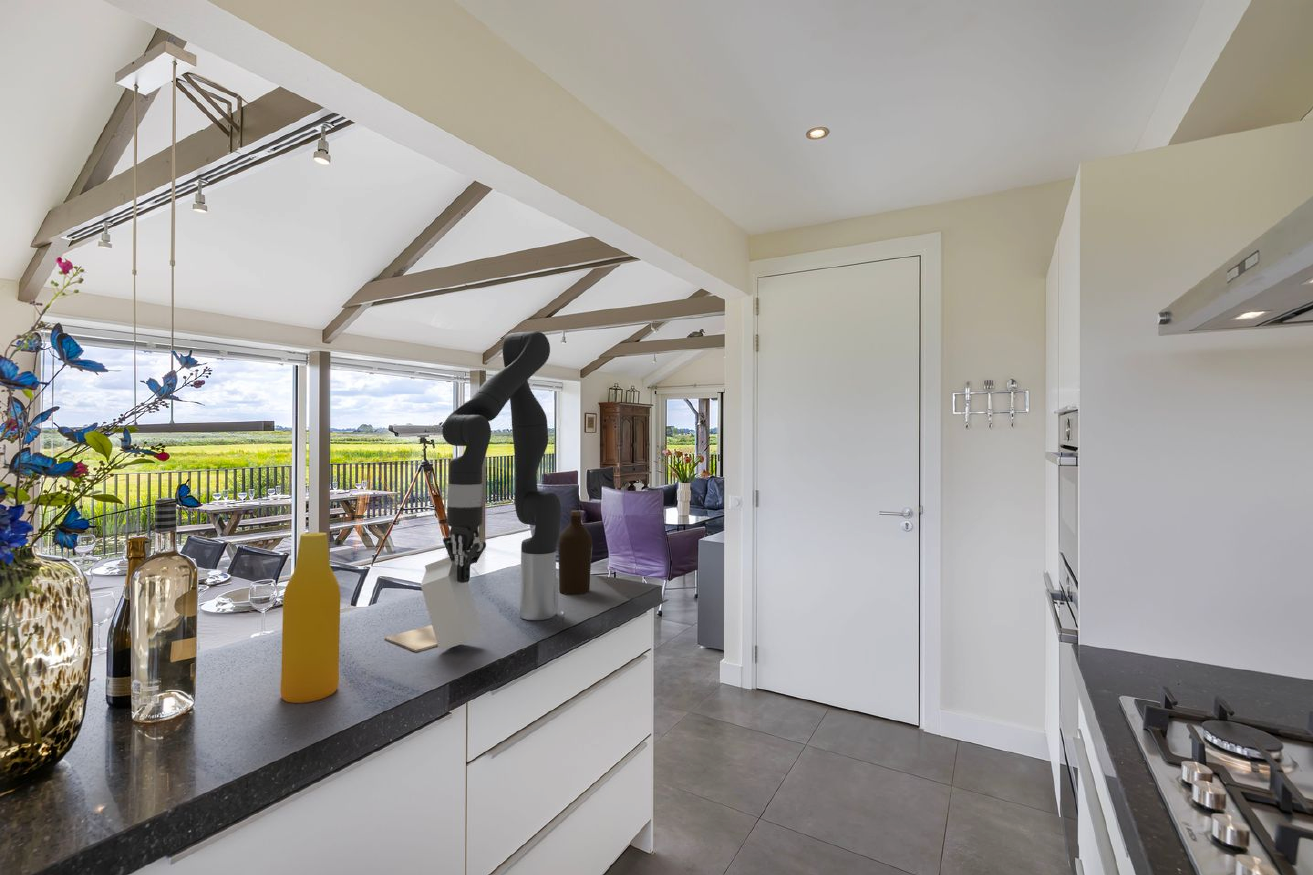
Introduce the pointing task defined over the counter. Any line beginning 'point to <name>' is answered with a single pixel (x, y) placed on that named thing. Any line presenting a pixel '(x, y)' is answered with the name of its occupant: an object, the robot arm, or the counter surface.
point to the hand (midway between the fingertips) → (463, 581)
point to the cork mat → (415, 639)
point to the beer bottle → (311, 625)
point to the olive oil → (574, 557)
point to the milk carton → (449, 605)
